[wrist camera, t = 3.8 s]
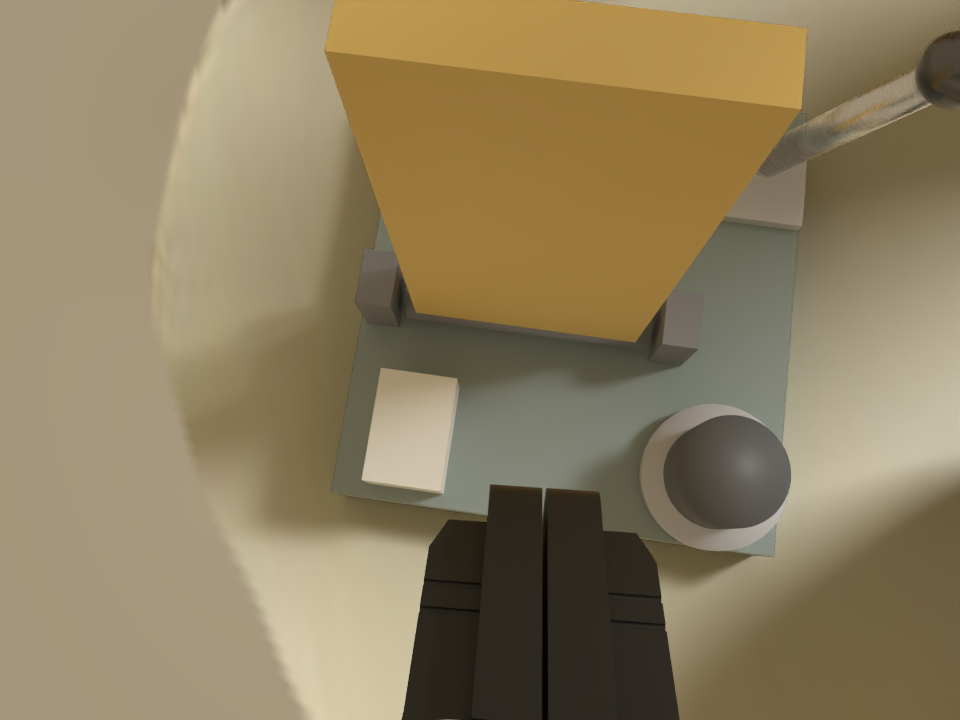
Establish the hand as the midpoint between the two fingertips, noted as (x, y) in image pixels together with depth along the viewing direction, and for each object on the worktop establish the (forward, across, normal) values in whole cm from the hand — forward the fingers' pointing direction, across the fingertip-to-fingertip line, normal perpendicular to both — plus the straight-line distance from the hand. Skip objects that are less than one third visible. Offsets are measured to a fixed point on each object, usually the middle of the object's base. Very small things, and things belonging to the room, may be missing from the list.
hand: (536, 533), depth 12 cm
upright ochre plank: (+13, 0, +4) cm, 14 cm away
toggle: (+16, -7, 0) cm, 18 cm away
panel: (+16, -2, +6) cm, 17 cm away
